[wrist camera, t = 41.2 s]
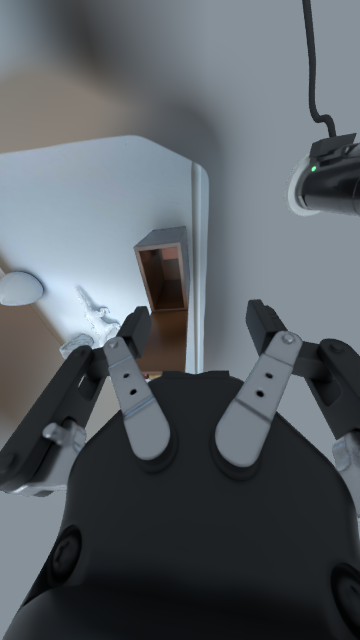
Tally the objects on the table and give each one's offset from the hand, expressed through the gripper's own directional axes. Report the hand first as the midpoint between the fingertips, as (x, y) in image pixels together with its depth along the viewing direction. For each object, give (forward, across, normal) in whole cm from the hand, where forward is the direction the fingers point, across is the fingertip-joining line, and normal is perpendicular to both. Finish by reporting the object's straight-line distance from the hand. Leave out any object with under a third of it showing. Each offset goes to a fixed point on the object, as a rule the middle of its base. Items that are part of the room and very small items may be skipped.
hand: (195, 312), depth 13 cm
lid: (+11, +7, +13) cm, 18 cm away
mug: (+36, +52, +37) cm, 73 cm away
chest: (+36, +7, +6) cm, 37 cm away
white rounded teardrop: (+36, +57, +10) cm, 68 cm away
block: (+35, +7, +3) cm, 36 cm away
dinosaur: (+36, +38, +24) cm, 58 cm away
